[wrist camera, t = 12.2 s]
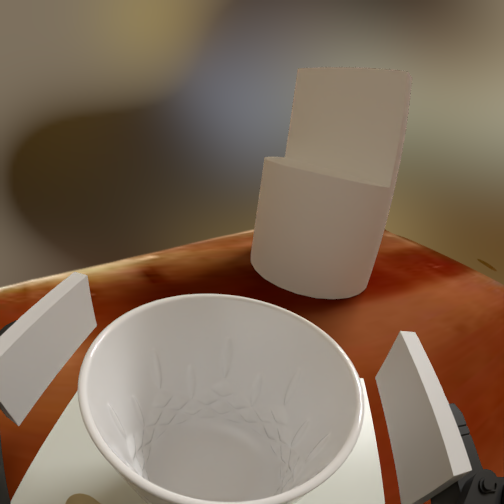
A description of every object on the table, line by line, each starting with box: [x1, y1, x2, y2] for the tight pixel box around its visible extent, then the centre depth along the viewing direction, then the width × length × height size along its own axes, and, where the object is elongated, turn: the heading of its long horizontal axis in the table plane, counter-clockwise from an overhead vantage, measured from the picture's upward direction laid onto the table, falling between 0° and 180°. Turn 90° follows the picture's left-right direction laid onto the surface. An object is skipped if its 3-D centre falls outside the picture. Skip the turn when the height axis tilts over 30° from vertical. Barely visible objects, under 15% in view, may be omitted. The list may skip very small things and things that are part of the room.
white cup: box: [78, 294, 364, 504], centre depth 9 cm, size 8×8×10 cm
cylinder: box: [251, 67, 412, 299], centre depth 35 cm, size 17×17×28 cm
